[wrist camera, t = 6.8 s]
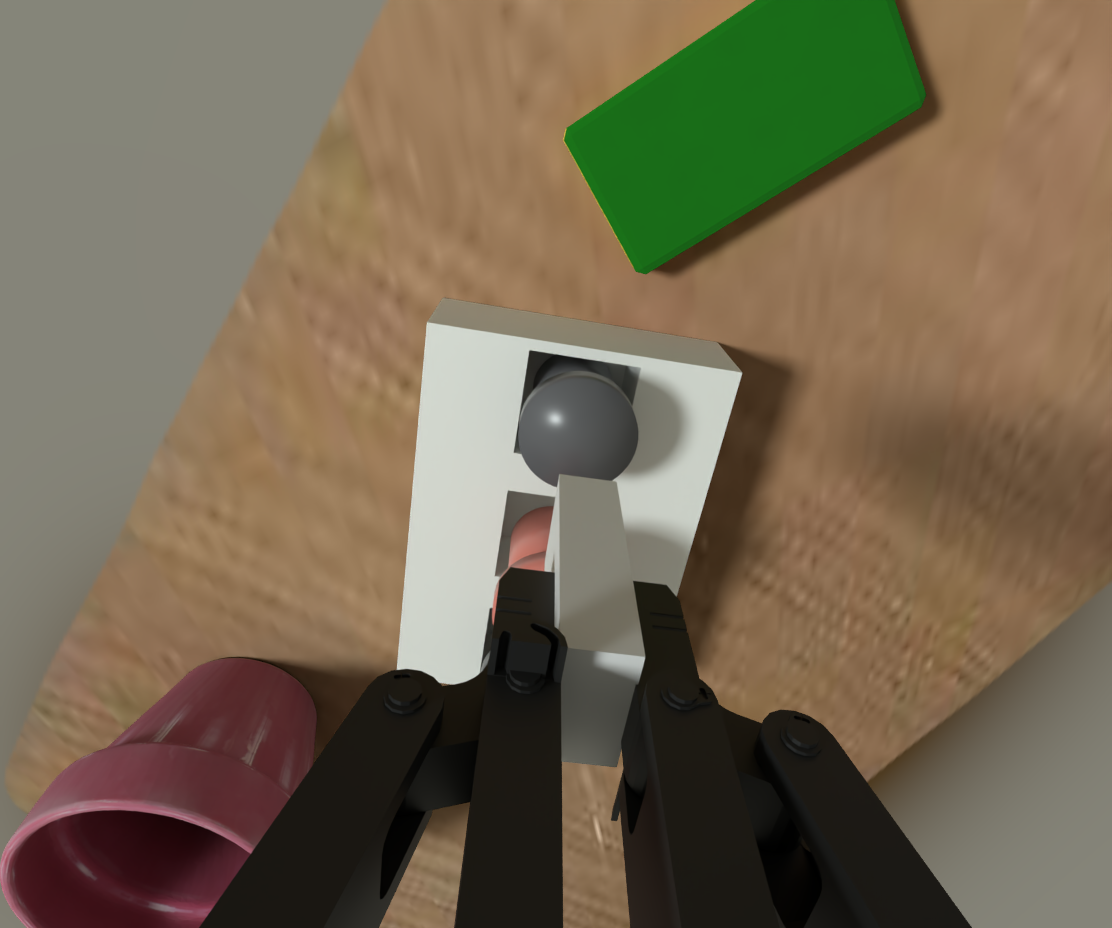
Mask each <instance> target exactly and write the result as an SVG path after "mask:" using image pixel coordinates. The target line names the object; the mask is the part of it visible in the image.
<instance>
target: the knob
mask: <svg viewBox="0 0 1112 928" xmlns="http://www.w3.org/2000/svg"><path fill="white" fill-rule="evenodd" d="M518 441H519V447H520V451H521V454H522V457H523V459H524V461H525V463H526V464H527V466H528V467H529V469H530V470H531V471H532V472H533V473H534V474H535V475H536V476H537V477H538V478H540V479H541V480H543V481H544V482H546V483H547V484H550V485H552V486H554V487H557V485H558V479H559V474H563V475H570V476H578V477H585V478H593V479H600V480H608V481H612V480H614V479H615V478H617V477H618V476H619V475H620V474H621V473H622V472H623V471H624V470H625V469H626V468H627V467H628V465H629V464H630V462H631V460H632V459H633V456H634V454H635V452H636V448H637V444H638V424H637V421H636V417H635V414H634V411H633V407H632V405H631V403H630V400H629V399H628V397H627V396H626V394H625V393H624V392H623V390H622V389H621V388H620V387H619V386H618V385H617V384H615V383H614V382H613V379H612V375H611V373H610V371H609V369H608V368H607V366H606V365H605V364H604V363H603V362H602V361H596V360H589V359H583V358H577V357H570V356H564V355H558V354H555V355H553V356H552V357H550V358H549V359H547V360H546V361H545V362H544V363H543V364H542V365H541V367H540V368H539V370H538V371H537V373H536V376H535V378H534V383H533V391H532V392H531V394H530V395H529V396H528V398H527V400H526V401H525V403H524V405H523V408H522V411H521V415H520V421H519V432H518Z"/></svg>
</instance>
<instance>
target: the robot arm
mask: <svg viewBox="0 0 1112 928" xmlns="http://www.w3.org/2000/svg"><path fill="white" fill-rule="evenodd" d="M686 631H687V628H686V624H685V620H684V619H683V613H682V609H681V605H680V601H679V599H678V598H677V597H676V596H675V594H674V593H673V592H672V591H671V589H670V588H669V587H668V586H667V585H664V584H656V583H648V582H640V581H633V578H632V572H631V566H630V560H629V554H628V548H627V542H626V535H625V529H624V523H623V517H622V511H621V505H620V499H619V493H618V487H617V482H616V481H608V480H600V479H593V478H585V477H578V476H570V475H563V474H559V479H558V485H557V491H556V497H555V503H554V509H553V515H552V521H551V527H550V533H549V539H548V545H547V551H546V557H545V568H544V571H538V570H530V569H522V568H514V567H510V568H509V570H508V571H507V572H506V573H505V574H504V575H503V576H502V577H501V579H500V580H499V587H498V595H497V602H496V610H495V617H494V625H493V632H492V640H491V647H490V655H489V660H488V663H487V665H486V667H485V668H484V669H483V671H482V672H481V673H479V674H478V675H477V676H476V677H474V678H472V679H470V680H468V681H466V682H462V683H458V684H454V685H447V686H442V685H441V684H440V683H439V682H438V681H437V680H436V679H435V678H434V677H433V676H431V675H429V674H427V673H425V672H423V671H419V670H412V669H401V670H393V671H390V672H388V673H385V674H383V675H381V676H379V677H377V678H376V679H375V680H374V681H373V682H372V683H371V684H370V685H369V686H368V687H367V689H366V690H365V692H364V693H363V694H362V696H361V697H360V699H359V700H358V701H357V703H356V704H355V706H354V707H353V709H352V710H351V711H350V713H349V714H348V716H347V717H346V719H345V720H344V721H343V723H342V724H341V726H340V727H339V729H338V730H337V731H336V733H335V734H334V736H333V737H332V739H331V740H330V741H329V743H328V744H327V746H326V747H325V749H324V750H323V751H322V753H321V754H320V756H319V757H318V759H317V760H316V761H315V763H314V764H313V766H312V767H311V769H310V770H309V771H308V773H307V774H306V776H305V777H304V779H303V780H302V781H301V783H300V784H299V786H298V787H297V789H296V790H295V791H294V793H293V794H292V796H291V797H290V799H289V800H288V801H287V803H286V804H285V806H284V807H283V808H282V810H281V811H280V813H279V814H278V816H277V817H276V818H275V820H274V821H273V823H272V824H271V826H270V827H269V828H268V830H267V831H266V833H265V834H264V836H263V837H262V838H261V840H260V841H259V843H258V844H257V846H256V847H255V848H254V850H253V851H252V853H251V854H250V856H249V857H248V858H247V860H246V861H245V863H244V864H243V866H242V867H241V868H240V870H239V871H238V873H237V874H236V876H235V877H234V878H233V880H232V881H231V883H230V884H229V886H228V887H227V888H226V890H225V891H224V893H223V894H222V896H221V897H220V898H219V900H218V901H217V903H216V904H215V906H214V907H213V908H212V910H211V911H210V913H209V914H208V915H207V917H206V918H205V920H204V921H203V923H202V924H201V925H200V927H199V928H379V926H380V924H381V922H382V920H383V917H384V915H385V913H386V911H387V909H388V907H389V905H390V902H391V900H392V898H393V896H394V894H395V892H396V890H397V887H398V885H399V883H400V881H401V879H402V877H403V875H404V873H405V870H406V868H407V866H408V864H409V862H410V860H411V858H412V855H413V853H414V851H415V849H416V847H417V845H418V843H419V840H420V838H421V836H422V834H423V832H424V830H425V828H426V825H427V823H428V821H429V819H430V817H431V814H432V810H434V809H439V808H443V807H448V806H453V805H458V804H462V803H467V802H470V808H469V816H468V824H467V831H466V839H465V847H464V855H463V863H462V871H461V878H460V886H459V894H458V902H457V910H456V918H455V925H454V928H563V866H562V762H572V763H581V764H591V765H600V766H609V767H617V764H618V760H619V756H620V752H621V748H622V757H623V767H624V769H623V773H622V777H621V780H620V784H619V788H618V792H617V795H616V799H615V803H614V806H613V811H612V818H611V820H612V821H617V819H618V816H619V812H620V814H621V825H622V837H623V848H624V860H625V871H626V883H627V894H628V905H629V917H630V928H972V927H971V926H970V924H969V923H968V922H967V920H966V919H965V918H964V916H963V915H962V913H961V912H960V911H959V909H958V908H957V906H956V905H955V904H954V902H953V901H952V900H951V898H950V897H949V895H948V894H947V893H946V891H945V890H944V888H943V887H942V886H941V885H940V883H939V882H938V880H937V879H936V877H935V876H934V875H933V873H932V872H931V871H930V869H929V868H928V866H927V865H926V864H925V862H924V861H923V859H922V858H921V857H920V855H919V854H918V852H917V851H916V850H915V848H914V847H913V846H912V844H911V843H910V841H909V840H908V839H907V837H906V836H905V835H904V833H903V832H902V830H901V829H900V828H899V826H898V825H897V824H896V822H895V821H894V819H893V818H892V817H891V815H890V814H889V812H888V811H887V810H886V808H885V807H884V805H883V804H882V803H881V801H880V800H879V799H878V797H877V796H876V794H875V793H874V792H873V790H872V789H871V788H870V786H869V785H868V783H867V782H866V780H865V779H864V778H863V776H862V775H861V774H860V772H859V771H858V769H857V768H856V767H855V765H854V764H853V762H852V761H851V760H850V758H849V757H848V756H847V754H846V753H845V751H844V750H843V749H842V747H841V746H840V744H839V743H838V742H837V740H836V739H835V738H834V736H833V735H832V734H831V733H830V732H829V731H828V730H827V729H826V728H825V727H824V726H823V725H822V724H821V723H819V722H818V721H816V720H814V719H813V718H811V717H810V716H808V715H805V714H802V713H799V712H796V711H790V710H778V711H775V712H771V713H769V715H768V716H767V717H766V718H765V719H764V720H763V722H762V723H759V722H756V721H754V720H751V719H748V718H746V717H743V716H740V715H737V714H735V713H733V712H731V711H729V710H727V709H725V708H724V707H722V706H721V705H719V704H718V700H717V698H716V696H715V694H714V692H713V691H712V689H711V688H710V687H709V686H708V685H707V684H706V683H704V682H703V681H702V680H701V679H699V675H698V671H697V667H696V663H695V660H694V656H693V652H692V648H691V644H690V640H689V636H688V633H687V632H686Z"/></svg>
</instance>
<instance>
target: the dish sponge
mask: <svg viewBox="0 0 1112 928" xmlns="http://www.w3.org/2000/svg"><path fill="white" fill-rule="evenodd" d="M925 97H926V92H925V89H924V86H923V83H922V80H921V77H920V74H919V71H918V68H917V65H916V62H915V59H914V57H913V54H912V51H911V48H910V45H909V42H908V39H907V36H906V33H905V30H904V27H903V24H902V21H901V18H900V15H899V12H898V9H897V6H896V3H895V0H755V1H754V2H752V3H751V4H749V5H748V6H746V7H745V8H744V9H742V10H741V11H739V12H738V13H736V14H735V15H733V16H732V17H730V18H729V19H727V20H726V21H724V22H723V23H721V24H720V25H718V26H717V27H715V28H714V29H712V30H711V31H709V32H708V33H707V34H705V35H704V36H702V37H701V38H699V39H698V40H696V41H695V42H693V43H692V44H690V45H689V46H687V47H686V48H684V49H683V50H681V51H680V52H678V53H677V54H675V55H674V56H673V57H671V58H670V59H668V60H667V61H665V62H664V63H662V64H661V65H659V66H658V67H656V68H655V69H653V70H652V71H650V72H649V73H647V74H646V75H644V76H643V77H641V78H640V79H638V80H637V81H636V82H634V83H633V84H631V85H630V86H628V87H627V88H625V89H624V90H622V91H621V92H619V93H618V94H616V95H615V96H613V97H612V98H610V99H609V100H607V101H606V102H604V103H603V104H602V105H600V106H599V107H597V108H596V109H594V110H593V111H591V112H590V113H588V114H587V115H585V116H584V117H582V118H581V119H579V120H578V121H576V122H575V123H573V124H572V125H570V126H569V127H567V128H566V130H565V134H564V139H563V141H564V143H565V145H566V146H567V148H568V150H569V152H570V154H571V156H572V157H573V159H574V161H575V163H576V165H577V167H578V168H579V170H580V172H581V174H582V176H583V177H584V179H585V181H586V183H587V185H588V187H589V188H590V190H591V192H592V194H593V196H594V198H595V199H596V201H597V203H598V205H599V207H600V208H601V210H602V212H603V214H604V216H605V218H606V219H607V221H608V223H609V225H610V227H611V229H612V230H613V232H614V234H615V236H616V238H617V239H618V241H619V243H620V245H621V247H622V249H623V250H624V252H625V254H626V256H627V258H628V260H629V261H630V263H631V265H632V266H633V268H634V269H635V271H636V272H639V273H643V274H647V273H649V272H650V271H652V270H654V269H655V268H657V267H659V266H660V265H662V264H664V263H665V262H667V261H669V260H670V259H672V258H674V257H675V256H677V255H678V254H680V253H682V252H683V251H685V250H687V249H688V248H690V247H692V246H693V245H695V244H697V243H698V242H700V241H702V240H703V239H705V238H707V237H708V236H710V235H711V234H713V233H715V232H716V231H718V230H720V229H721V228H723V227H725V226H726V225H728V224H730V223H731V222H733V221H735V220H736V219H738V218H740V217H741V216H743V215H744V214H746V213H748V212H749V211H751V210H753V209H754V208H756V207H758V206H759V205H761V204H763V203H764V202H766V201H768V200H769V199H771V198H773V197H774V196H776V195H777V194H779V193H781V192H782V191H784V190H786V189H787V188H789V187H791V186H792V185H794V184H796V183H797V182H799V181H801V180H802V179H804V178H805V177H807V176H809V175H810V174H812V173H814V172H815V171H817V170H819V169H820V168H822V167H824V166H825V165H827V164H829V163H830V162H832V161H834V160H835V159H837V158H838V157H840V156H842V155H843V154H845V153H847V152H848V151H850V150H852V149H853V148H855V147H857V146H858V145H860V144H862V143H863V142H865V141H867V140H868V139H870V138H871V137H873V136H875V135H876V134H878V133H880V132H881V131H883V130H885V129H886V128H888V127H890V126H891V125H893V124H895V123H896V122H898V121H899V120H901V119H903V118H904V117H906V116H908V115H909V114H911V113H913V112H914V111H916V110H918V109H919V108H921V107H922V104H923V102H924V99H925Z"/></svg>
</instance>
